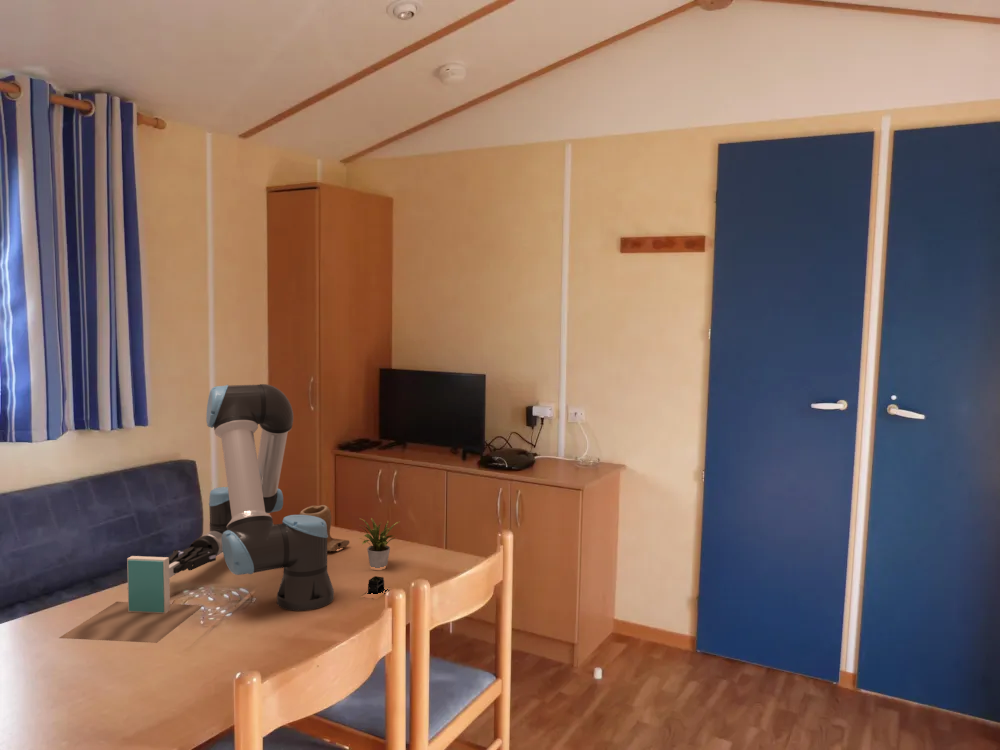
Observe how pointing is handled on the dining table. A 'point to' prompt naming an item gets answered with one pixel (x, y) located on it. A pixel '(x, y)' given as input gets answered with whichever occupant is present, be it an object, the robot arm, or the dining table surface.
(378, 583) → the black small block
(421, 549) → the dining table surface
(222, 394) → the robot arm
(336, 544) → the tan ankle boot
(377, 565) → the house plant
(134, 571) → the tile
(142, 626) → the board
